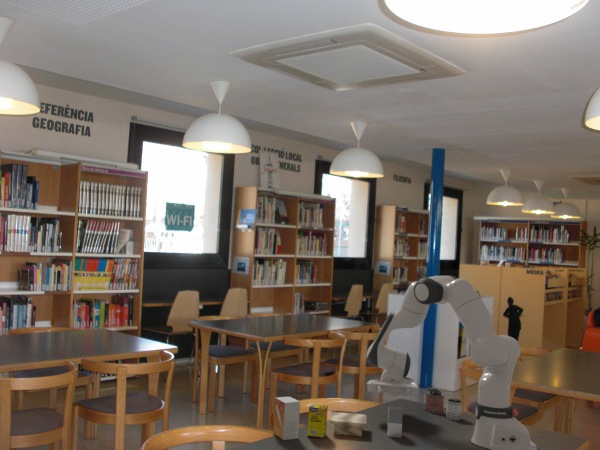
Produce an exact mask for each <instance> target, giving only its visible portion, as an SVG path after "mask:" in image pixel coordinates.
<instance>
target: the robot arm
mask: <svg viewBox="0 0 600 450" xmlns="http://www.w3.org/2000/svg"><path fill="white" fill-rule="evenodd" d="M447 303H448V304H450V306H451V307H452V309H453V311H454V313H455V315H456V316H457V318H458V319H459V321H460V323H461V326H462V327H463V328H464V331H465V333H466V335H467V339H468V343H469V346H470V347H469V356H470V359H471V361H472V362H473V364H475V365H476V366H477V367H481V368H483V372H482V374H481V376H480V378H479V379H478V386H477V387H478V388H477V390H478V391H477V401H476V404H475V405H476V406H475V425H474V430H473V434H472V438H471V439H470V441H471V443H473V444H474V445H476V446H479V447H481V448H484V449H488V450H538V448H537V444H535V443H534V442H533V441H531V437H530V436H531V435H530V432H529V429H528V428H526V426H524V425H523V424H522V423H521V422H520V421H519V420H518V418H516V417H517V416H518V415H519V411H518V410H517V409H515V408H514V407H512V406H510V399H511V397H510V396H511V384H512V380H513V377H514V376H513V374H514V371H515V367H516V363H517V362H518V361H517V360H518V359H519V357H520V356H521V351H522V350H521V349H522V348H521V345H520V343H519V341H518V340H517V339H516V338H514V337H512V336H509V335H506V334H497V333H496V331H495V329H494V325H493V316H492V314H491V312H490V310H489V309H488V307H487V306H486V304H485V302H484V301H483V299H482V298H481V296H480V295H479V293H478V291H477V290H476V289H475V287H474V286H473V285H472V284H471V283H470V282H469V281H468V280H467V279H465V278H458V277H457V276H454V275H450V274H447V275H433V276H428V277H423V278H421V279H419V280H418V281H412V282H411V284H409V286H408V288H407V290H406V292H405V293H404V296H403V298H402V301H401V304H400V306H399V307H398V308H397V309H396V310H394V311H391V312H390V313H389V314H388V315H387V317H385V318H386V319H385V320H384V322H383V324H382V326H381V327H380V328H379V331H378V333H377V335H376V336H375V338H374V340H373V341H372V343H371V344H370V346H369V347H368V349H367V352H366V355H365V356H366V361H367V362H368V364H369V365H370V367H374V368H381V369H383V370H384V371H383V372H382V373H381V376H380V379H379V380H377V379H370V380H368V381H367V382H366V386H367V389H366V390H367V391H368V392H370V393H376V394H377V393H379V394H385V395H387V396H388V397H396V396H404V397H405V396H406V397H407V396H412V397H418V396H419V390H420V387H419V385H418V383H417V382H415V380H414V378H410V377H407V376H408V374H409V371H410V368H411V364H412V363H411V360H412V359H411V357H410V355H409V352H408V351H406V350H404V349H403V350H402V349H399V348H395V347H393V346H388V345H385V342H386V341H387V338H388V337H389V336H390V333H391V332H393V331H395V330H400V329H414V328H417V327H419V326H421V325H422V324H423V323H424V322H425V319H426V317H427V315H428V312H429V308H430V306H432V305H442V304H447Z"/></svg>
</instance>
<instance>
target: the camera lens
mask: <svg viewBox="0 0 600 450" xmlns="http://www.w3.org/2000/svg"><path fill="white" fill-rule="evenodd" d="M445 408H446V409H445V414H446V419H448V420H450V421H461V419H462V411H463V402H462V400H460V399H457V398H449V399H447V400H446V407H445Z"/></svg>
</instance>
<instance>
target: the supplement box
mask: <svg viewBox="0 0 600 450" xmlns="http://www.w3.org/2000/svg"><path fill="white" fill-rule="evenodd" d="M328 407H329V405H327V404H321V403H311V404H310V406H309V408H308V421H307V438H308V439H309V438H310V439H317V440H324V439H325V437H326V435H327V424H328V423H327V422H328Z"/></svg>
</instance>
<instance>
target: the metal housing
mask: <svg viewBox="0 0 600 450" xmlns="http://www.w3.org/2000/svg"><path fill="white" fill-rule="evenodd" d="M387 411H388V412H387V427H386V428H387V429H386V430H387V431H386V433H387V434H386V435H387V438H388V437H390V438H402V432H403V416H404V415H403V414H404V413H403V412H404V409H403V407H402V406H395V405H388V409H387Z"/></svg>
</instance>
